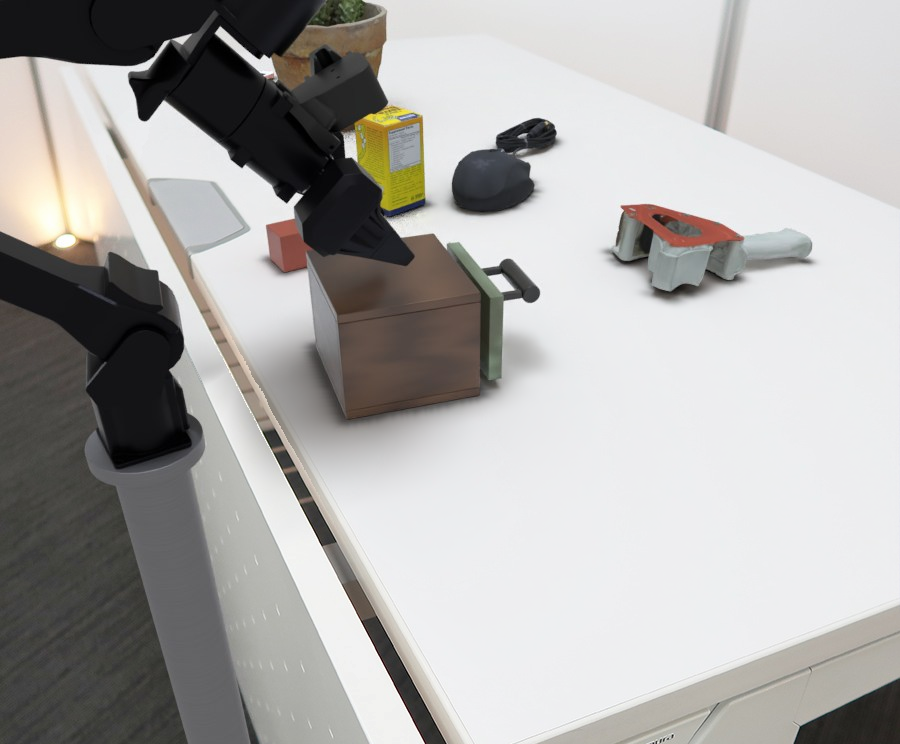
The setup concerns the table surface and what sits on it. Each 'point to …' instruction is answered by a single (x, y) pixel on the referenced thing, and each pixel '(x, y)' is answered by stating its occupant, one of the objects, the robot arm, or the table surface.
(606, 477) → the table surface
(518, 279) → the drawer
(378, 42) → the potted plant
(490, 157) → the computer mouse
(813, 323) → the table surface
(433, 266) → the cabinet
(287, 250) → the block
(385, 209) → the supplement box
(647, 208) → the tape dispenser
